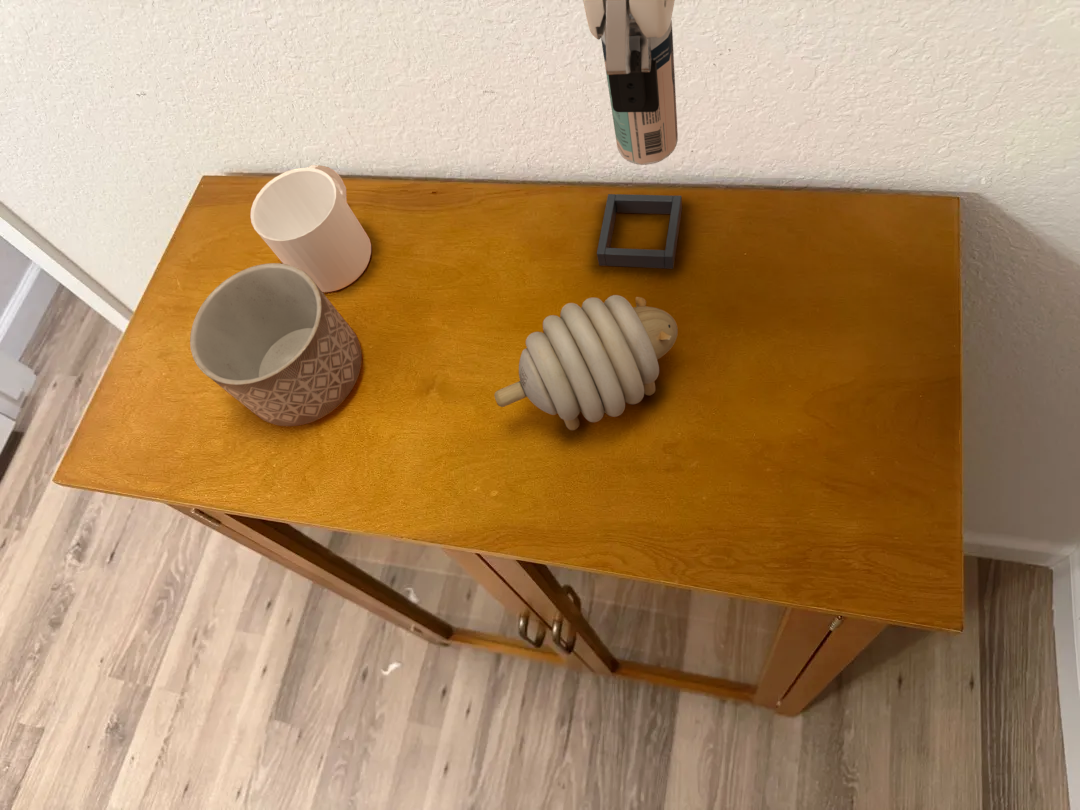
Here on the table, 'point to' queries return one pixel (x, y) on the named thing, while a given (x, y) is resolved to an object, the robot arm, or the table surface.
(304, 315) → the planter
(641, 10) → the robot arm
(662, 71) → the beer can
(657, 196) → the holder
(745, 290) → the table surface
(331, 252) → the mug
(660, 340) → the toy sheep
